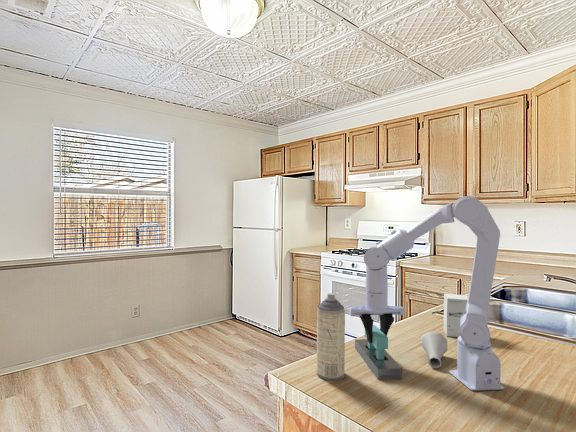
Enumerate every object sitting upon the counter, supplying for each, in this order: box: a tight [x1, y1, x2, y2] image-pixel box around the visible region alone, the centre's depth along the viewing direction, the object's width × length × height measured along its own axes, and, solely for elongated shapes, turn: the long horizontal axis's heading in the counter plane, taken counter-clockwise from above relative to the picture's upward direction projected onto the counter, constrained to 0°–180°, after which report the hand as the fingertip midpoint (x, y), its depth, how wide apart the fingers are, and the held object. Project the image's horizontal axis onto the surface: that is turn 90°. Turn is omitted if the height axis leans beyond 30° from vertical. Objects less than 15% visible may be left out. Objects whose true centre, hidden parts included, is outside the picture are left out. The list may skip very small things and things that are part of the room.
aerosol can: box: [316, 292, 346, 381], centre depth 89 cm, size 7×7×20 cm
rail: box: [354, 338, 403, 380], centre depth 97 cm, size 20×6×2 cm, turn 5°
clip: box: [364, 324, 389, 360], centre depth 97 cm, size 10×3×6 cm, turn 5°
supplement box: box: [443, 293, 468, 338], centre depth 119 cm, size 7×7×13 cm
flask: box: [420, 331, 448, 369], centre depth 97 cm, size 7×7×10 cm
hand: (376, 341), depth 97 cm, fingers closed on clip, 3 cm apart
